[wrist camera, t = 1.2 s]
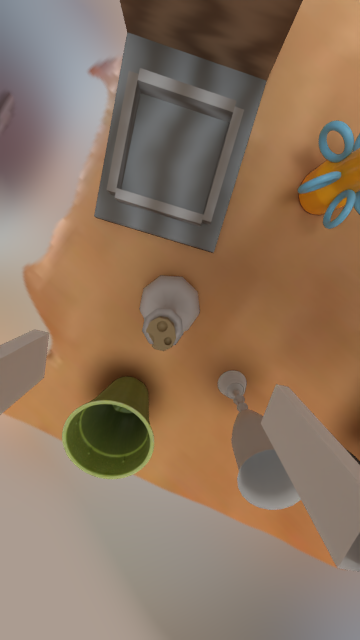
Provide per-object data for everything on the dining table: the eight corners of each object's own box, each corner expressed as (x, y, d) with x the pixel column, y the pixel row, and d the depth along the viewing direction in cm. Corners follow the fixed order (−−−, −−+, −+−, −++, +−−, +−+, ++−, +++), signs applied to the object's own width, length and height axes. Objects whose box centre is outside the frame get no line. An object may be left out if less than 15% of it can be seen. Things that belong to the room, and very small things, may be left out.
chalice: (204, 377, 38) (223, 470, 21) (238, 357, 37) (287, 436, 20) (226, 408, 39) (261, 520, 22) (259, 389, 39) (323, 490, 21)
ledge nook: (268, 73, 28) (598, -681, 6) (212, 252, 33) (274, 220, 11) (132, 25, 27) (-102, -1094, 5) (96, 217, 32) (-95, 105, 10)
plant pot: (174, 401, 39) (172, 452, 28) (123, 432, 41) (101, 492, 30) (135, 349, 37) (115, 384, 26) (81, 385, 39) (42, 431, 28)
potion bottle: (160, 337, 37) (140, 400, 19) (134, 289, 35) (86, 310, 17) (208, 314, 36) (233, 359, 18) (184, 263, 34) (185, 259, 16)
